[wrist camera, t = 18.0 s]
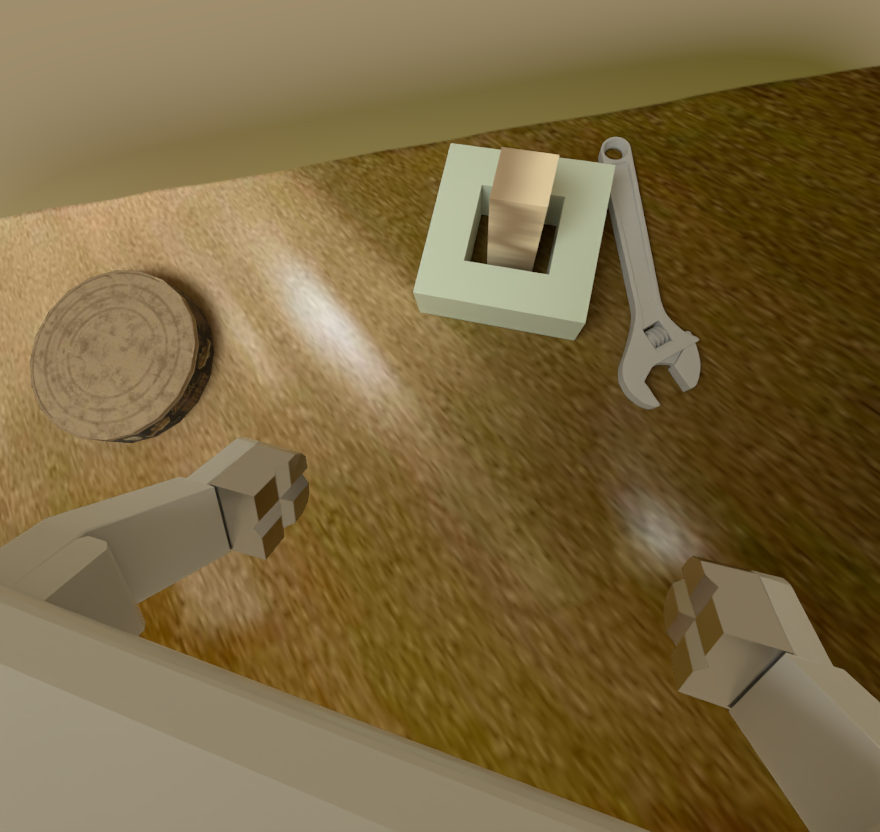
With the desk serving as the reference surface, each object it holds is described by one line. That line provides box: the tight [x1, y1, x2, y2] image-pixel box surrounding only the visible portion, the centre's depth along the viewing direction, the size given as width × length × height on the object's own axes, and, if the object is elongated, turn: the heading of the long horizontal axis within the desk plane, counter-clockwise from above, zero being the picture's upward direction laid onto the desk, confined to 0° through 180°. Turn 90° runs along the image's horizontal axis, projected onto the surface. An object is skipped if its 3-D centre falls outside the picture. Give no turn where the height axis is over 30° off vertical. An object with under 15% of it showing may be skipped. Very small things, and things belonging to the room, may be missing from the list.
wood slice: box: [30, 270, 214, 443], centre depth 39 cm, size 16×16×3 cm
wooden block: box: [487, 147, 559, 272], centre depth 34 cm, size 4×4×10 cm
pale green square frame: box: [413, 143, 615, 340], centre depth 37 cm, size 14×14×4 cm
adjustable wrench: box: [598, 137, 700, 410], centre depth 37 cm, size 25×6×2 cm, turn 2°
